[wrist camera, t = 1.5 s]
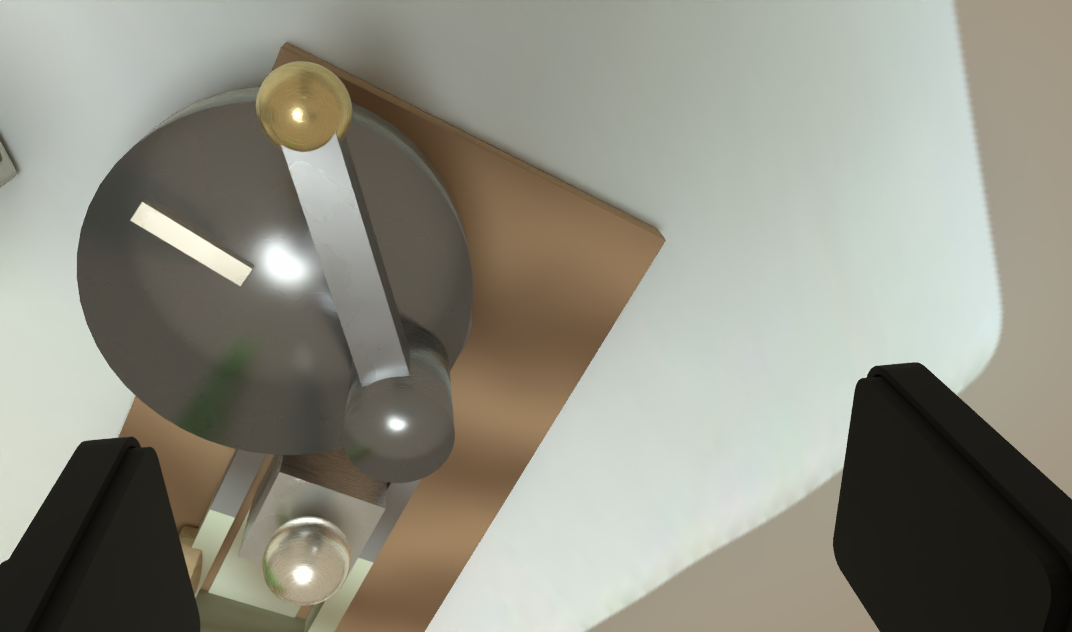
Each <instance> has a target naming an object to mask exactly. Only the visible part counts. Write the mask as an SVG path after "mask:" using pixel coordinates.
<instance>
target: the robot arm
mask: <svg viewBox="0 0 1072 632" xmlns="http://www.w3.org/2000/svg"><path fill="white" fill-rule="evenodd" d="M833 548H834V554H835V558H836V561H837V564H838V566H839V568H840V570H841V571H842V573H843V575H844V576H845V578H846V579H847V581H848V582H849V584H850V586H851V587H852V589H853V590H854V592H855V593H856V595H857V596H858V598H859V599H860V601H861V602H862V604H863V606H864V607H865V609H866V610H867V612H868V613H869V615H870V616H871V618H872V620H873V621H874V623H875V624H876V626H877V628H878V629H879V631H880V632H1072V499H1071V498H1070V497H1068V496H1067V495H1066V494H1065V493H1064V492H1063V491H1062V490H1060V488H1058V487H1057V486H1056V485H1055V484H1054V483H1053V482H1052V481H1051V480H1049V479H1048V478H1047V477H1046V476H1045V475H1044V474H1043V473H1042V472H1041V471H1040V470H1039V469H1037V468H1036V467H1035V466H1034V465H1033V464H1032V463H1031V462H1030V461H1029V460H1028V459H1026V458H1025V457H1024V456H1023V455H1022V454H1021V453H1020V452H1019V451H1018V450H1016V449H1015V448H1014V447H1013V446H1012V445H1011V444H1010V443H1009V442H1008V441H1007V440H1005V439H1004V438H1003V437H1002V436H1001V435H1000V434H999V433H998V432H997V431H996V430H994V429H993V428H992V427H991V426H990V425H989V424H988V423H987V422H985V421H984V420H983V419H982V418H981V417H980V416H979V415H978V414H977V413H976V412H975V411H973V410H972V409H971V408H970V407H969V406H968V405H967V404H966V403H964V402H963V401H962V400H961V399H960V398H959V397H958V396H957V395H956V394H955V393H954V392H952V391H951V390H950V389H949V388H948V387H947V386H946V385H945V384H944V383H943V382H941V381H940V380H939V379H938V378H937V377H936V376H935V375H934V374H933V373H931V372H930V371H929V370H928V369H927V368H926V367H925V366H923V365H922V364H920V363H914V362H913V363H903V364H892V365H881V366H875V367H873V368H872V369H871V370H870V371H869V373H868V375H867V378H862V379H860V380H859V381H858V382H857V384H856V388H855V393H854V400H853V407H852V414H851V420H850V427H849V434H848V441H847V448H846V455H845V462H844V469H843V476H842V482H841V489H840V496H839V504H838V510H837V517H836V524H835V531H834V538H833ZM0 632H200V616H199V611H198V607H197V603H196V599H195V595H194V592H193V588H192V584H191V580H190V576H189V573H188V569H187V565H186V561H185V558H184V554H183V550H182V546H181V542H180V539H179V535H178V531H177V527H176V523H175V520H174V516H173V512H172V508H171V505H170V501H169V497H168V493H167V489H166V486H165V482H164V478H163V474H162V470H161V467H160V463H159V459H158V456H157V453H156V451H155V450H154V448H152V447H142V448H141V446H140V443H139V442H138V440H137V439H136V438H134V437H121V438H111V439H100V440H90V441H84V442H81V444H80V445H79V446H78V447H77V449H76V450H75V452H74V454H73V455H72V457H71V458H70V460H69V462H68V463H67V465H66V467H65V468H64V470H63V471H62V473H61V475H60V476H59V478H58V480H57V481H56V483H55V485H54V486H53V488H52V489H51V491H50V493H49V494H48V496H47V498H46V499H45V501H44V503H43V504H42V506H41V507H40V509H39V511H38V512H37V514H36V516H35V517H34V519H33V521H32V522H31V524H30V525H29V527H28V529H27V530H26V532H25V534H24V535H23V537H22V538H21V540H20V542H19V543H18V545H17V547H16V548H15V550H14V552H13V553H12V555H11V556H10V558H9V559H8V560H6V561H4V562H2V563H1V565H0Z"/></svg>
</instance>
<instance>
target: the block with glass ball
mask: <svg viewBox="0 0 1072 632" xmlns="http://www.w3.org/2000/svg"><path fill="white" fill-rule="evenodd" d="M386 490H387V482H383V481H379V480H376V479H374V478H371V477H369V476H367V475H366V474H364V473H362V472H361V471H360V470H359V469H357V468H356V467H355V466H354V464H353V463H352V462H351V461H350V459H349V458H348V456H347V454H346V452H345V449H344V448H341V449H337V450H332V451H328V452H323V453H314V454H305V455H274V456H273V458H272V460H271V462H270V464H269V466H268V468H267V470H266V473H265V475H264V477H263V479H262V481H261V483H260V485H259V487H258V489H257V491H256V493H255V495H254V497H253V500H252V504H251V507H250V511H249V515H248V518H247V522H246V526H245V530H244V533H243V537H242V541H241V545H240V548H239V552H238V557H241V558H244V559H248V560H251V561H254V562H257V563H261V564H262V573H263V576H264V579H265V582H266V584H267V586H268V587H269V589H270V590H271V591H272V592H273V594H275V595H276V596H277V597H278V598H279V599H281V600H283V601H285V602H287V603H289V604H293V605H298V606H309V605H314V604H318V603H321V602H323V601H325V600H327V599H328V598H330V597H331V596H333V595H334V594H335V593H336V592H337V591H338V590H339V589H340V588H341V587H342V586H343V584H344V582H345V580H346V579H347V577H348V575H349V573H350V571H351V570H352V568H353V566H354V564H355V563H356V561H357V559H358V557H359V555H360V554H361V552H362V550H363V548H364V546H365V545H366V543H367V541H368V539H369V538H370V536H371V534H372V532H373V530H374V529H375V527H376V525H377V523H378V522H379V520H380V518H381V516H382V514H383V513H384V511H385V509H386Z"/></svg>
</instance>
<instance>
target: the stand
mask: <svg viewBox="0 0 1072 632" xmlns="http://www.w3.org/2000/svg"><path fill="white" fill-rule="evenodd" d="M297 61H305V62H312V63H316V64H319V65H321V66H323V67H325V68H327V69H328V70H330V71H331V72H333V73H334V74H335V75H336V76H337V77H338V78H339V79H340V80H341V81H342V83H343V84H344V85H345V87H346V89H347V91H348V93H349V96H350V99H351V102H353V103H355V104H357V105H359V106H361V107H364V108H366V109H368V110H370V111H372V112H374V113H375V114H377V115H379V116H380V117H382V118H383V119H385V120H386V121H388V122H390V123H391V124H393V125H394V126H395V127H397V128H398V129H399V130H400V131H402V132H403V133H404V134H405V135H406V136H408V137H409V138H410V139H411V140H412V141H414V143H415V144H416V145H417V146H418V147H419V148H420V149H421V150H422V151H423V152H424V153H425V154H426V155H427V156H428V157H429V158H430V160H431V161H432V163H433V164H434V165H435V167H436V168H437V169H438V171H439V172H440V174H441V175H442V176H443V178H444V180H445V181H446V183H447V185H448V187H449V189H450V191H451V193H452V194H453V196H454V198H455V201H456V204H457V206H458V209H459V212H460V214H461V217H462V220H463V224H464V229H465V233H466V238H467V243H468V249H469V255H470V261H471V267H472V280H473V301H472V313H471V318H470V322H469V327H468V332H467V335H466V338H465V341H464V343H463V346H462V349H461V352H460V354H459V356H458V358H457V360H456V361H455V363H454V365H453V367H452V369H451V371H450V379H451V392H452V404H453V416H454V428H455V441H454V446H453V449H452V452H451V454H450V455H449V457H448V459H447V460H446V461H445V463H444V464H443V465H442V466H441V467H440V468H439V469H438V470H436V471H435V472H434V473H432V474H430V475H429V476H427V477H425V478H422V479H419V480H417V481H412V482H407V483H389V482H387V490H386V509H385V511H384V513H383V514H382V516H381V518H380V520H379V522H378V523H377V525H376V527H375V529H374V530H373V532H372V534H371V536H370V538H369V539H368V541H367V543H366V545H365V546H364V548H363V550H362V552H361V554H360V555H359V557H358V559H357V561H356V563H355V564H354V566H353V568H352V570H351V571H350V573H349V575H348V577H347V579H346V580H345V582H344V584H343V586H342V587H341V588H340V589H339V590H338V591H337V592H336V593H335V594H334V595H333V596H331V597H330V598H328V599H327V600H325V601H323V602H321V603H318V604H314V605H309V606H298V605H293V604H289V603H287V602H285V601H283V600H281V599H279V598H278V597H277V596H276V595H275V594H273V592H272V591H271V590H270V589H269V587H268V586H267V584H266V582H265V579H264V576H263V573H262V564H261V563H257V562H254V561H251V560H248V559H244V558H241V557H238V552H239V548H240V545H241V541H242V537H243V533H244V530H245V526H246V522H247V518H248V515H249V511H250V507H251V504H252V500H253V497H254V495H255V493H256V491H257V489H258V487H259V485H260V483H261V481H262V479H263V477H264V475H265V473H266V470H267V468H268V466H269V464H270V462H271V460H272V458H273V456H274V455H272V454H262V453H253V452H248V451H243V450H239V449H234V448H229V447H226V446H223V445H220V444H217V443H214V442H211V441H208V440H205V439H203V438H201V437H199V436H196V435H194V434H192V433H190V432H188V431H185V430H183V429H182V428H180V427H178V426H177V425H175V424H173V423H171V422H170V421H168V420H166V419H165V418H163V417H162V416H160V415H159V414H158V413H156V412H155V411H154V410H152V409H151V408H150V407H148V406H147V405H146V404H144V403H143V402H142V401H141V400H140V399H139V398H138V397H137V396H136V397H135V399H134V402H133V404H132V407H131V409H130V411H129V414H128V416H127V419H126V421H125V423H124V426H123V428H122V431H121V433H120V435H119V438H121V437H134V438H136V439H137V440H138V442H139V443H140V446H141V448H142V447H152V448H154V450H155V451H156V453H157V456H158V459H159V463H160V467H161V470H162V474H163V478H164V482H165V486H166V489H167V493H168V497H169V501H170V505H171V508H172V512H173V516H174V520H175V523H176V527H177V531H178V535H179V534H180V532H181V530H182V528H183V527H184V526H190V527H195V528H198V530H197V534H196V537H195V540H194V542H193V545H192V548H196V549H200V550H202V558H203V559H202V571H201V577H200V581H199V585H198V588H197V591H196V593H195V599H196V603H197V607H198V611H199V616H200V632H425V630H426V628H427V627H428V625H429V623H430V622H431V620H432V619H433V617H434V615H435V614H436V612H437V611H438V609H439V607H440V606H441V604H442V602H443V601H444V599H445V598H446V596H447V594H448V593H449V591H450V589H451V588H452V586H453V585H454V583H455V581H456V580H457V578H458V576H459V575H460V573H461V572H462V570H463V568H464V567H465V565H466V563H467V562H468V560H469V559H470V557H471V555H472V554H473V552H474V550H475V549H476V547H477V546H478V544H479V542H480V541H481V539H482V537H483V536H484V534H485V533H486V531H487V529H488V528H489V526H490V524H491V523H492V521H493V520H494V518H495V516H496V515H497V513H498V512H499V510H500V508H501V507H502V505H503V503H504V502H505V500H506V499H507V497H508V495H509V494H510V492H511V490H512V489H513V487H514V486H515V484H516V482H517V481H518V479H519V477H520V476H521V474H522V473H523V471H524V469H525V468H526V466H527V464H528V463H529V461H530V460H531V458H532V456H533V455H534V453H535V451H536V450H537V448H538V447H539V445H540V443H541V442H542V440H543V438H544V437H545V435H546V434H547V432H548V430H549V429H550V427H551V425H552V424H553V422H554V421H555V419H556V417H557V416H558V414H559V413H560V411H561V409H562V408H563V406H564V404H565V403H566V401H567V400H568V398H569V396H570V395H571V393H572V391H573V390H574V388H575V387H576V385H577V383H578V382H579V380H580V378H581V377H582V375H583V374H584V372H585V370H586V369H587V367H588V365H589V364H590V362H591V361H592V359H593V357H594V356H595V354H596V352H597V351H598V349H599V348H600V346H601V344H602V343H603V341H604V339H605V338H606V336H607V335H608V333H609V331H610V330H611V328H612V326H613V325H614V323H615V322H616V320H617V318H618V317H619V315H620V314H621V312H622V310H623V309H624V307H625V305H626V304H627V302H628V301H629V299H630V297H631V296H632V294H633V292H634V291H635V289H636V288H637V286H638V284H639V283H640V281H641V279H642V278H643V276H644V275H645V273H646V271H647V270H648V268H649V266H650V265H651V263H652V262H653V260H654V258H655V257H656V255H657V253H658V252H659V250H660V249H661V247H662V245H663V244H664V242H665V238H664V237H663V236H662V234H661V233H660V232H659V231H658V229H656V228H654V227H652V226H650V225H648V224H646V223H644V222H642V221H640V220H638V219H636V218H634V217H632V216H630V215H628V214H626V213H624V212H622V211H620V210H618V209H616V208H614V207H612V206H610V205H608V204H606V203H604V202H602V201H600V200H598V199H596V198H594V197H592V196H590V195H588V194H586V193H584V192H582V191H580V190H578V189H576V188H574V187H572V186H570V185H568V184H566V183H564V182H562V181H560V180H558V179H556V178H555V177H553V176H551V175H549V174H547V173H545V172H543V171H541V170H539V169H537V168H535V167H533V166H531V165H529V164H527V163H525V162H523V161H521V160H519V159H517V158H515V157H513V156H511V155H509V154H507V153H505V152H503V151H501V150H499V149H497V148H495V147H493V146H491V145H489V144H487V143H485V142H483V141H481V140H479V139H477V138H475V137H473V136H471V135H469V134H467V133H465V132H463V131H461V130H459V129H457V128H455V127H453V126H451V125H449V124H447V123H445V122H443V121H441V120H439V119H437V118H435V117H433V116H431V115H429V114H427V113H425V112H423V111H421V110H419V109H417V108H416V107H414V106H412V105H410V104H408V103H406V102H404V101H402V100H400V99H398V98H396V97H394V96H392V95H390V94H388V93H386V92H384V91H382V90H380V89H378V88H376V87H374V86H372V85H370V84H368V83H366V82H364V81H362V80H360V79H358V78H356V77H354V76H352V75H350V74H348V73H346V72H344V71H342V70H340V69H338V68H336V67H334V66H332V65H330V64H328V63H326V62H324V61H322V60H320V59H318V58H316V57H314V56H312V55H310V54H308V53H306V52H304V51H302V50H300V49H298V48H296V47H294V46H292V45H290V44H288V43H285V44H284V45H283V46H282V47H281V50H280V52H279V54H278V57H277V59H276V62H275V64H274V66H273V69H272V71H274V70H275V69H276V68H278V67H280V66H282V65H284V64H287V63H291V62H297ZM272 71H271V72H272Z"/></svg>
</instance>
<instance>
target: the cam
mask: <svg viewBox="0 0 1072 632" xmlns="http://www.w3.org/2000/svg"><path fill="white" fill-rule="evenodd" d="M77 281H78V288H79V295H80V302H81V305H82V309H83V312H84V315H85V319H86V322H87V325H88V327H89V329H90V332H91V334H92V336H93V338H94V340H95V343H96V345H97V347H98V348H99V350H100V352H101V353H102V355H103V356H104V358H105V360H106V361H107V363H108V364H109V366H110V367H111V369H112V370H113V371H114V372H115V373H116V375H117V376H118V377H119V378H120V380H121V381H122V382H123V383H124V384H125V386H126V387H127V388H128V389H130V390H131V391H132V392H133V393H134V394H135V395H136V396H137V397H138V398H139V399H140V400H141V401H142V402H143V403H144V404H146V405H147V406H148V407H150V408H151V409H152V410H154V411H155V412H156V413H158V414H159V415H160V416H162V417H163V418H165V419H166V420H168V421H170V422H171V423H173V424H175V425H177V426H178V427H180V428H182V429H183V430H185V431H188V432H190V433H192V434H194V435H196V436H199V437H201V438H203V439H205V440H208V441H211V442H214V443H217V444H220V445H223V446H226V447H229V448H234V449H239V450H243V451H248V452H253V453H262V454H272V455H305V454H314V453H323V452H328V451H332V450H337V449H341V448H344V449H345V452H346V454H347V456H348V458H349V459H350V461H351V462H352V463H353V464H354V466H355V467H356V468H357V469H359V470H360V471H361V472H362V473H364V474H366V475H367V476H369V477H371V478H374V479H376V480H379V481H383V482H389V483H407V482H412V481H417V480H419V479H422V478H425V477H427V476H429V475H430V474H432V473H434V472H435V471H436V470H438V469H439V468H440V467H441V466H442V465H443V464H444V463H445V461H446V460H447V459H448V457H449V455H450V454H451V452H452V449H453V446H454V441H455V428H454V416H453V404H452V392H451V379H450V371H451V369H452V367H453V365H454V363H455V361H456V360H457V358H458V356H459V354H460V352H461V349H462V346H463V343H464V341H465V338H466V335H467V332H468V327H469V322H470V318H471V313H472V301H473V280H472V267H471V261H470V255H469V249H468V243H467V238H466V233H465V229H464V224H463V220H462V217H461V214H460V212H459V209H458V206H457V204H456V201H455V198H454V196H453V194H452V193H451V191H450V189H449V187H448V185H447V183H446V181H445V180H444V178H443V176H442V175H441V174H440V172H439V171H438V169H437V168H436V167H435V165H434V164H433V163H432V161H431V160H430V158H429V157H428V156H427V155H426V154H425V153H424V152H423V151H422V150H421V149H420V148H419V147H418V146H417V145H416V144H415V143H414V141H412V140H411V139H410V138H409V137H408V136H406V135H405V134H404V133H403V132H402V131H400V130H399V129H398V128H397V127H395V126H394V125H393V124H391V123H390V122H388V121H386V120H385V119H383V118H382V117H380V116H379V115H377V114H375V113H374V112H372V111H370V110H368V109H366V108H364V107H361V106H359V105H357V104H355V103H353V102H351V99H350V96H349V93H348V91H347V89H346V87H345V85H344V84H343V83H342V81H341V80H340V79H339V78H338V77H337V76H336V75H335V74H334V73H333V72H331V71H330V70H328V69H327V68H325V67H323V66H321V65H319V64H316V63H312V62H305V61H297V62H291V63H287V64H284V65H282V66H280V67H278V68H276V69H275V70H274V71H272V72H271V73H270V74H269V75H268V76H267V77H266V78H265V80H264V81H263V83H262V84H261V86H260V87H254V88H244V89H239V90H234V91H229V92H225V93H220V94H218V95H215V96H212V97H209V98H206V99H203V100H201V101H198V102H196V103H194V104H192V105H190V106H188V107H186V108H184V109H182V110H180V111H178V112H176V113H175V114H173V115H172V116H171V117H169V118H168V119H167V120H165V121H164V122H162V123H161V124H160V125H158V126H157V127H156V128H154V129H153V130H152V131H151V132H150V133H149V134H147V135H146V136H145V137H144V138H143V139H142V140H140V141H139V142H138V143H137V144H136V145H135V146H133V147H132V148H131V149H130V150H129V151H128V152H127V153H126V154H125V155H124V156H123V157H122V158H121V159H120V160H119V161H118V162H117V163H116V164H115V165H114V167H113V168H112V169H111V171H110V172H109V173H108V175H107V176H106V177H105V179H104V180H103V182H102V183H101V184H100V186H99V188H98V190H97V192H96V194H95V196H94V197H93V199H92V201H91V203H90V205H89V207H88V210H87V213H86V216H85V219H84V222H83V225H82V228H81V233H80V239H79V245H78V251H77Z"/></svg>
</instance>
